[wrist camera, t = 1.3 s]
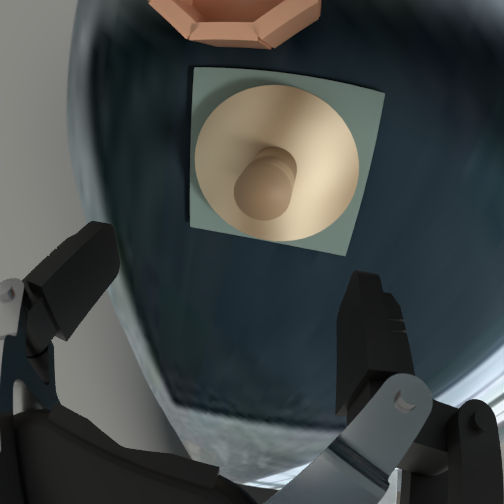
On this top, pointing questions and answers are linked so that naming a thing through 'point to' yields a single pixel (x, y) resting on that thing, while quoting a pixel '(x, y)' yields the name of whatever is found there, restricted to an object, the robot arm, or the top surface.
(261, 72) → the mat
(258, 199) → the lid
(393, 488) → the skincare box
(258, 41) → the bowl
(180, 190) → the top surface
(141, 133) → the top surface
